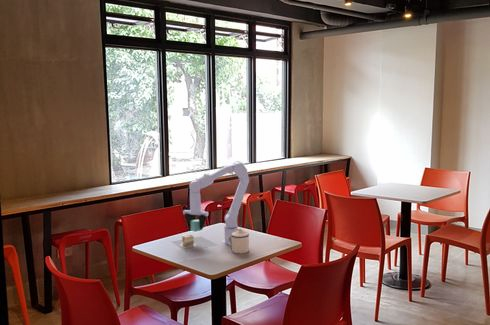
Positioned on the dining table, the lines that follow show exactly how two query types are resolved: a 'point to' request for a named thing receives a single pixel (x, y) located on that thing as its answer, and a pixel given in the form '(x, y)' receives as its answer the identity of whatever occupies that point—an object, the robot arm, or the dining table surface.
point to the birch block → (187, 240)
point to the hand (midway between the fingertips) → (196, 228)
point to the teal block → (195, 225)
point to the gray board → (195, 244)
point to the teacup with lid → (239, 241)
